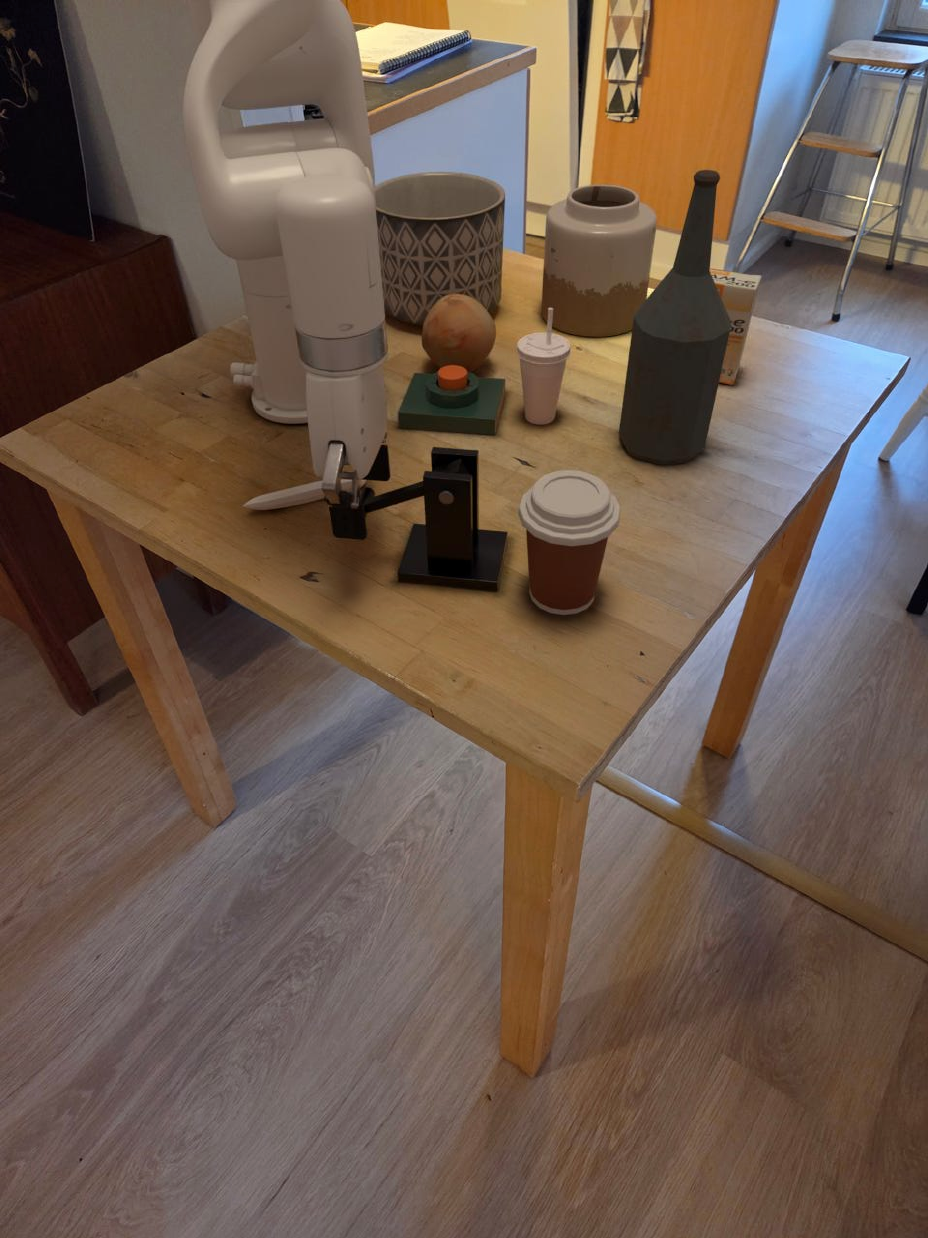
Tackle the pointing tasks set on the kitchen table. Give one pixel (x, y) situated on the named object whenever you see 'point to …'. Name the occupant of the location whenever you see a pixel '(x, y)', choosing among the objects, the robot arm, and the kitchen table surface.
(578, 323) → the vase
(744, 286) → the supplement box
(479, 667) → the kitchen table surface
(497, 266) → the planter
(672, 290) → the bottle
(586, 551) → the coffee cup
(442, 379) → the button
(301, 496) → the pen
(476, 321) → the onion
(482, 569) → the bracket
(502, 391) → the button block
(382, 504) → the lever
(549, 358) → the smoothie
